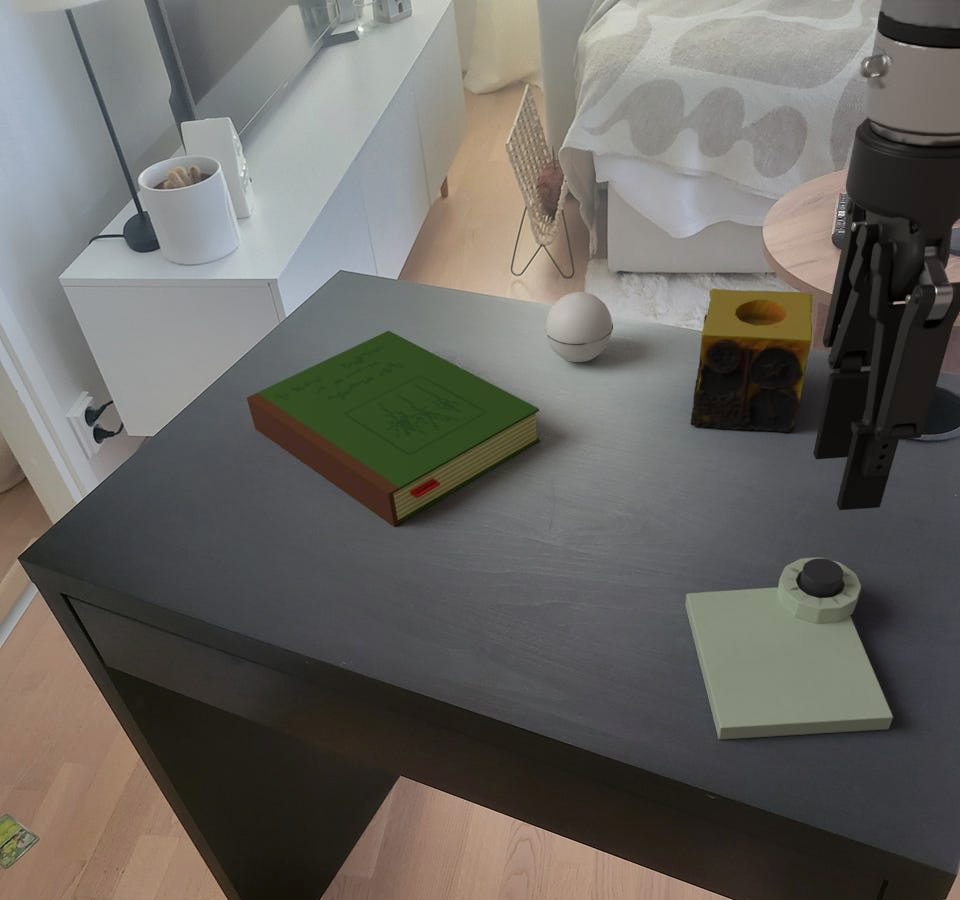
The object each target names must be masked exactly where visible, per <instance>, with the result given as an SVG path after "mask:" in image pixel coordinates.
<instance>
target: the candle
mask: <svg viewBox="0 0 960 900" xmlns="http://www.w3.org/2000/svg"><path fill="white" fill-rule="evenodd" d="M813 296H814V295H813V293H811V292H803V291H777V290H776V291H775V290H743V289H740V290H739V289H720V288H712V289H710V290H709V299H710V300H709V303H708V309H707V313H706V314H705V315H704V319H703V326H702V330H701V341H700V342H701V343H700V352H699V353H700V354H699V361H698V368H697V373H696V379H695V386H694V393H693V402H692V403H693V405H692V409H691V410H692V412H691V417H690V425H691V426H692V427H703V428H714V429H730V430H744V431H745V430H746V431H765V432H766V431H767V432H768V431H769V432H779V433H780V432H781V433H791V432H793V431H794V430H795V428H796V422H797V420H796V419H797V416H798V414H799V409H800V402H801V397H802V392H803V385H804V379H805V375H806V367H807V364H808V359H809V353H810V351H811V350H810V349H811V345H812V339H813V325H812V310H813Z"/></svg>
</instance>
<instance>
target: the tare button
mask: <svg viewBox="0 0 960 900" xmlns="http://www.w3.org/2000/svg"><path fill="white" fill-rule="evenodd" d="M821 558H822V557H820V558H819V559H812V560H810V561H808V562H807V563H805V565H804V566H803V570H802V574H801V579H800V585H799V586H800V587H801V589H802V590H803V591H804V592H805V593H806V594H808V595H810V596H814V597H817V598H829V597H832V596H834V595H836V594H837V593H838V592H839V589H840V586H841V582H842V578H843V570H842V568H841V567H840V566H839V565H838V564H837V563H835V562H834V561H835V560H832V559H829V560H828V558H825V559H821ZM831 560H832V561H831Z"/></svg>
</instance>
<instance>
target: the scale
mask: <svg viewBox="0 0 960 900" xmlns="http://www.w3.org/2000/svg"><path fill="white" fill-rule="evenodd" d="M819 558H821V559H826V558H824V557H804V558H798V559H797V560H795V561H793V562H791V563H789V564H787V565H786V566H785V567H784V568H783V570H782V573H781V575H780V577H779V580H778V585H777V587H775V586H774V587H763V588H760V587H759V588H748V589H734V590H733V589H732V590H731V589H730V590H717V591H716V590H715V591H703V592H688V593H686V595H685V604H684V606H685V610H686V614H687V617H688V622H689V626H690V630H691V634H692V639H693V642H694V646H695V650H696V654H697V658H698V663H699V667H700V670H701V675H702V677H703V683H704V686H705V691H706V694H707V698H708V699H707V700H708V702H709V707H710V710H711V714H712V718H713V723H714V727H715V730H716V735H717V738H718V740H733V739H737V740H738V739H751V738H752V739H753V738H764V737H765V738H769V737H783V736H799V735H801V736H803V735H818V734H832V733H833V734H834V733H835V734H836V733H848V732H849V733H850V732H866V731H880V730H881V731H882V730H889V729H890V727H891V724H892V721H893V719H894V715H893V713H892V710H891V709H890V706H889V704H888V701H887V699H886V696H885V694H884V692H883V689H882V687H881V685H880V683H879V680H878V677H877V675H876V673H875V671H874V668H873V667H872V664H871V662H870V659H869V656H868V654H867V652H866V650H865V647H864V645H863V643H862V640H861V638H860V636H859V633H858V630H857V627H856V626H855V623H854V621H853V619H852V616H851V615H852V614H853V613H854V611H855V608H856V606H857V603H858V601H859V597H860V594H861V590H862V585H861V583H860V582H861V581H860V580H859V578H858V575H857V574H856V572H854V571H853V570H851V569H850V568H849V567H847V566H846V565H844V564H843V563H841V562H839V561H837V560H832V559H828V558H827V559H828V560H831V561H834V562H835V563H837V564H838V565H839V566H840V567H841V568H842V570H843V578H842V582H841V586H840V589H839V592H838V593H837V594H836V595H834V596H832V597H829V598H817V597H814V596H810V595H808V594H806V593H805V592H804V591H803V590H802V589H801V587H800V579H801V574H802V570H803V566H804V565H805V563H807V562H808V561H810V560H812V559H819Z"/></svg>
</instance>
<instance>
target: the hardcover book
mask: <svg viewBox="0 0 960 900" xmlns="http://www.w3.org/2000/svg"><path fill="white" fill-rule="evenodd" d="M246 401H247V403H248V409H249V411H250V415H251V419H252V422H253V425H254V429H255V430H256V431H258V432H259V433H260V434H262V435H263V436H265V437H266V438H268V439H269V440H270V441H272V443H273V442H274V443H275V444H276V445H278V446H279V447H280V448H282V449H283V450H284V451H286V452H288V453H289V454H291V455H292V456H293V457H295V458H296V459H297V460H299V461H301V462H302V463H303V464H305V465H306V466H307V467H309V468H310V469H312V470H313V471H314V472H316V473H317V474H318V475H320V476H322V477H323V478H324V479H326V480H327V481H328V482H330V483H332V484H333V485H334V486H336V487H337V488H338V489H340V490H342V491H343V492H344V493H346V494H347V495H348V496H350V497H351V498H352V499H354V500H356V501H357V502H358V503H360V504H361V505H363V506H364V507H366V508H367V509H368V510H369V511H371V512H372V513H374V514H375V515H377V516H378V517H380V518H381V519H383V520H384V521H385V522H387V523H388V524H390V525H391V526H392V527H393V528H394V527H396V526H398V525H400V524H402V523H403V522H405V521H407V520H408V519H410V518H411V517H413V516H415V515H417V514H419V513H420V512H422V511H424V510H426V509H427V508H429V507H430V506H432V505H434V504H436V503H437V502H439V501H441V500H442V499H445V498H446V497H448V496H449V495H452V493H454V492H456V491H457V490H459V489H461V488H463V487H465V486H466V485H468V484H470V483H471V482H473V481H475V480H477V479H478V478H480V477H482V476H484V475H485V474H487V473H488V472H490V471H492V470H494V469H496V468H497V467H498V466H500V465H502V464H504V463H505V462H507V461H509V460H511V459H512V458H514V457H516V456H517V455H519V454H521V453H523V452H524V451H526V450H528V449H530V448H531V447H534V445H536V444H538V443H540V442H541V438H539V437H537V414H536V413H538V412H539V411H540V408H539V407H537V406H535V405H534V404H532V403H529V402H527V401H526V400H523V399H522V398H520V397H518V396H515V395H514V394H512V393H510V392H508V391H506V390H504V389H502V388H500V387H498V386H496V385H495V384H493V383H490V382H489V381H487V380H485V379H483V378H481V377H480V376H477V375H475V374H474V373H472V372H470V371H468V370H466V369H464V368H462V367H460V366H458V365H456V364H455V363H452V362H450V361H449V360H447V359H444V358H443V357H441V356H439V355H437V354H435V353H433V352H431V351H429V350H428V349H425V348H424V347H421V346H419V345H417V344H416V343H413V342H412V341H410V340H408V339H406V338H405V337H402V336H400V335H398V334H396V333H395V332H393V331H391V330H387V331H384V332H382V333H380V334H378V335H376V336H374V337H372V338H370V339H367V340H366V341H363V342H361V343H359V344H357V345H355V346H353V347H351V348H348V349H346V350H344V351H343V352H340V353H337V354H336V355H334V356H332V357H329V358H327V359H325V360H323V361H321V362H319V363H317V364H315V365H313V366H310V367H308V368H306V369H304V370H301V371H300V372H298V373H296V374H293V375H292V376H289V377H287V378H285V379H283V380H280V381H279V382H276V383H274V384H272V385H270V386H268V387H265V388H264V389H262V390H260V391H257V392H255V393H254V394H251V395H249V396H247V397H246Z"/></svg>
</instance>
